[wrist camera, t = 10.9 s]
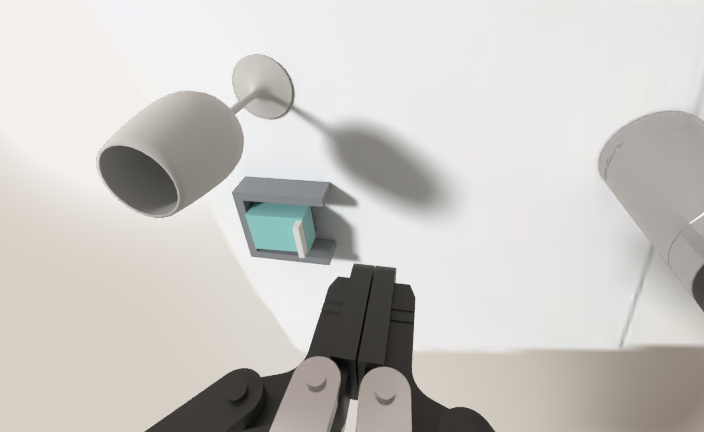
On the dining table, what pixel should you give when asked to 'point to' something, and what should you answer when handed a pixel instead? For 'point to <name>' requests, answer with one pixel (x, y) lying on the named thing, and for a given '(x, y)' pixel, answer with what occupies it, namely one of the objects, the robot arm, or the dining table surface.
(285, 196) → the bay
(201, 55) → the dining table surface
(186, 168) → the wineglass
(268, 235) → the teal box with handle
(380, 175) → the dining table surface
